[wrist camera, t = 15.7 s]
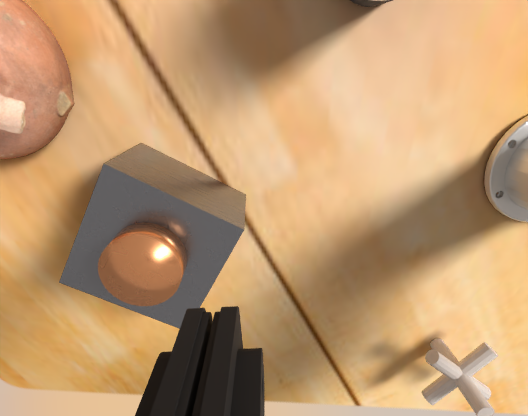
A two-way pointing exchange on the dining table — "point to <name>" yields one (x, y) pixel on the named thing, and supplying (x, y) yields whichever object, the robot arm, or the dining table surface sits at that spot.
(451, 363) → the light grey toy jack
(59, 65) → the ceramic jug
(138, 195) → the hitch block
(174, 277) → the copper pin
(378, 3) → the coffee cup
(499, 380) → the dining table surface
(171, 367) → the robot arm
